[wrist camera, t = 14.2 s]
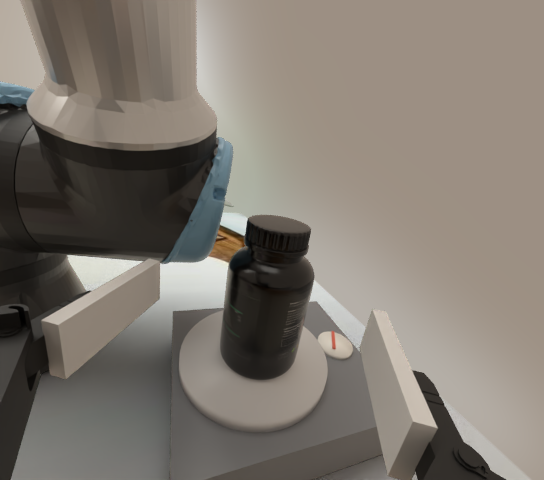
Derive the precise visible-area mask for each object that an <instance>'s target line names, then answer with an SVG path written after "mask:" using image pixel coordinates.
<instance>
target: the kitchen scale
mask: <svg viewBox="0 0 544 480" xmlns="http://www.w3.org/2000/svg"><path fill="white" fill-rule="evenodd" d="M223 309H224V308H216V309H202V310H188V311H174V312H173V330H172V376H171V432H170V480H313V479H316V478H319V477H321V476H324V475H327V474H330V473H332V472H335V471H338V470H341V469H343V468H346V467H349V466H352V465H354V464H357V463H360V462H363V461H365V460H368V459H371V458H374V457H376V456H379V455H382V454H383V453H382V448H381V443H380V439H379V434H378V430H377V425H376V421H375V416H374V411H373V407H372V402H371V398H370V393H369V389H368V384H367V379H366V375H365V370H364V366H363V361H362V357H361V353H360V352H359V351H358V350H357V348H356V347H355V346H354V345H353V344H352V343H351V341H350V340H349V339H348V338H347V337H346V336H345V334H344V333H343V332H342V331H341V330H340V329H339V327H338V326H337V325H336V324H335V323H334V322H333V320H332V319H331V318H330V317H329V316H328V315H327V313H326V312H325V311H324V310H323V309H322V308H321V306H320V305H319V304H318V303H317V302H309V304H308V308H307V313H306V317H305V321H304V325H303V330H302V334H301V338H300V342H299V347H298V351H297V355H296V358H295V361H294V363H293V365H292V366H291V368H290V369H289V370H288V371H287V372H286V373H284V374H283V375H281V376H279V377H277V378H274V379H269V380H253V379H249V378H245V377H243V376H241V375H239V374H237V373H235V372H234V371H233V370H231V369H230V368H229V367H228V366H227V364H226V363H225V362H224V360H223V358H222V356H221V352H220V337H221V327H222V318H223Z"/></svg>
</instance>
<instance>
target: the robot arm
mask: <svg viewBox="0 0 544 480" xmlns="http://www.w3.org/2000/svg"><path fill="white" fill-rule="evenodd" d="M20 1H21V4H22V6H23V9H24V12H25V15H26V18H27V21H28V23H29V26H30V29H31V32H32V35H33V38H34V40H35V43H36V46H37V49H38V52H39V55H40V57H41V60H42V63H43V66H44V69H45V72H46V74H45V77H44V80H43V82H42V83H41V84H40V85H39V86H38V87H37V89H36V90H33V89H30V88H26V87H23V86H18V85H14V84H9V83H5V82H0V480H10V479H11V476H12V472H13V469H14V466H15V462H16V459H17V455H18V452H19V448H20V445H21V442H22V438H23V435H24V431H25V428H26V425H27V421H28V418H29V414H30V411H31V407H32V404H33V401H34V397H35V394H36V390H37V387H38V383H39V380H40V374H42V373H43V372H45V371H47V370H49V371H50V375H53V376H56V377H59V378H63V379H67V378H68V377H69V376H71V375H72V374H73V373H74V372H75V371H76V370H78V369H79V368H80V367H81V366H82V365H83V364H85V363H86V362H87V361H88V360H89V359H90V358H91V357H93V356H94V355H95V354H96V353H97V352H98V351H100V350H101V349H102V348H103V347H104V346H105V345H107V344H108V343H109V342H110V341H111V340H112V339H113V338H115V337H116V336H117V335H118V334H119V333H120V332H122V331H123V330H124V329H125V328H126V327H127V326H129V325H130V324H131V323H132V322H133V321H134V320H135V319H137V318H138V317H139V316H140V315H141V314H142V313H144V312H145V311H146V310H147V309H148V308H149V307H151V306H152V305H153V304H154V303H155V302H156V301H157V300H159V298H160V263H161V264H167V263H169V262H199V261H202V260H204V259H205V258H207V257H208V256H209V254H210V253H211V251H212V249H213V247H214V244H215V240H216V237H217V233H218V230H219V226H220V221H221V217H222V213H223V208H224V202H225V195H226V191H227V186H228V183H229V178H230V172H231V166H232V158H233V147H232V145H231V143H230V142H228V141H225V140H224V139H223V138H220V137H218V138H216V130H217V117H216V114H215V112H214V111H213V110H212V108H211V107H210V106H209V105H208V103H207V102H206V101H205V100H204V99H203V97H202V96H201V95H200V94H199V92H198V90H197V86H196V0H20ZM67 255H78V256H89V257H101V258H112V259H123V260H135V261H144V262H142V263H140V264H138V265H137V266H135V267H133V268H131V269H130V270H128V271H126V272H124V273H123V274H121V275H119V276H117V277H116V278H114V279H112V280H111V281H109V282H107V283H105V284H104V285H102V286H100V287H98V288H97V289H95V290H93V291H86V290H85V288H84V286H83V285H82V283H81V281H80V280H79V278H78V276H77V275H76V273H75V271H74V270H73V268H72V266H71V265H70V263H69V261H68V257H67ZM360 352H361V357H362V361H363V366H364V370H365V375H366V379H367V384H368V389H369V393H370V398H371V402H372V407H373V411H374V416H375V421H376V425H377V430H378V434H379V439H380V443H381V448H382V453H383V457H384V462H385V466H386V471H387V475H388V476H390V477H393V478H396V479H400V480H411V479H412V477H413V475H414V473H415V472H416V475H417V478H418V480H506V479H504V478H503V477H501V476H499V475H497V474H495V473H494V472H492V471H491V470H490V468H489V466H488V464H487V463H486V462H485V460H484V459H483V458H482V456H481V455H480V454H479V453H477V452H476V451H475V450H474V449H473V448H472V447H470V446H469V445H467V444H466V443H464V442H463V440H462V438H461V436H460V434H459V432H458V430H457V428H456V426H455V424H454V422H453V420H452V419H451V417H450V415H449V413H448V411H447V409H446V407H444V403H443V401H442V399H441V397H439V393H438V391H437V389H436V388H435V386H434V384H433V383H432V382H431V381H430V379H429V378H428V377H427V376H426V375H425V374H424V373H421V372H417V371H413V370H412V369H411V367H410V365H409V363H408V360H407V358H406V356H405V354H404V351H403V349H402V347H401V345H400V342H399V340H398V338H397V336H396V334H395V331H394V329H393V327H392V325H391V322H390V320H389V318H388V315H387V313H386V312H383V311H379V310H375V309H372V311H371V315H370V318H369V320H368V323H367V327H366V330H365V333H364V336H363V339H362V342H361V345H360Z"/></svg>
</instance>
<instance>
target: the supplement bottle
mask: <svg viewBox="0 0 544 480" xmlns="http://www.w3.org/2000/svg"><path fill="white" fill-rule="evenodd" d="M310 233H311V229H310V227H309V226H308V225H306V224H304V223H302V222H300V221H297V220H294V219H290V218H286V217H281V216H274V215H255V216H252V217H250V218H248V221H247V227H246V234H245V236H244V244H245V245H246V246H245V247H243V248H241V249H239V250H238V251H237V252H236V253H235V254H234V255H233V256H232V257H231V259H230V261H229V266H228V273H227V282H226V291H225V300H224V309H223V318H222V327H221V337H220V352H221V356H222V358H223V360H224V362H225V363H226V364H227V366H228V367H229V368H230V369H231V370H233V371H234V372H235V373H237V374H239V375H241V376H243V377H245V378H249V379H253V380H269V379H274V378H277V377H279V376H281V375H283V374H284V373H286V372H287V371H288V370H289V369H290V368H291V366H292V365H293V363H294V361H295V358H296V355H297V351H298V347H299V342H300V338H301V334H302V330H303V325H304V321H305V317H306V313H307V308H308V304H309V300H310V296H311V291H312V287H313V282H314V272H313V268H312V266H311V264H310V262H309V261H308V260H307V259H306V258H305V257H304V255H306V254H307V252H308V248H309V245H308V242H309V238H310Z"/></svg>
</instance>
